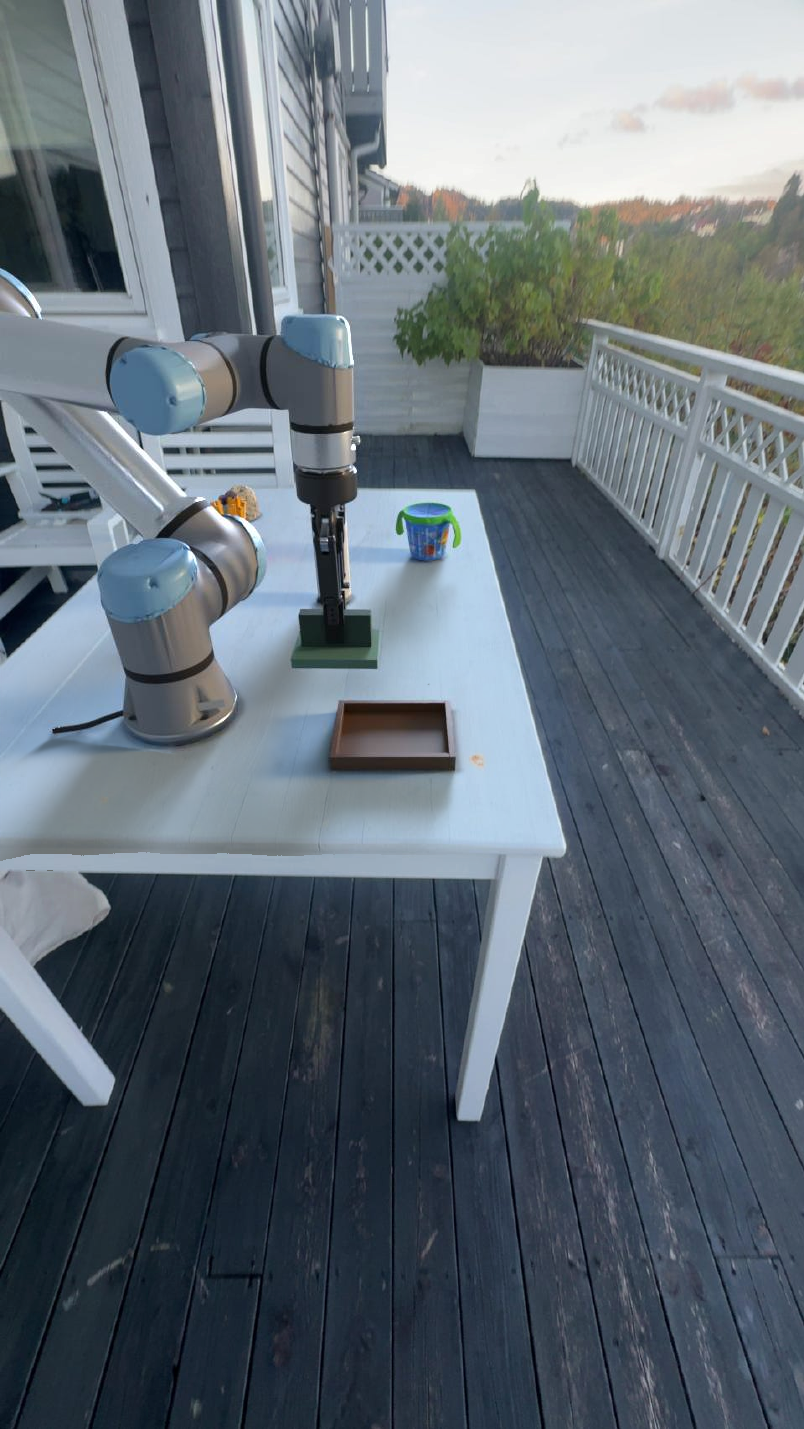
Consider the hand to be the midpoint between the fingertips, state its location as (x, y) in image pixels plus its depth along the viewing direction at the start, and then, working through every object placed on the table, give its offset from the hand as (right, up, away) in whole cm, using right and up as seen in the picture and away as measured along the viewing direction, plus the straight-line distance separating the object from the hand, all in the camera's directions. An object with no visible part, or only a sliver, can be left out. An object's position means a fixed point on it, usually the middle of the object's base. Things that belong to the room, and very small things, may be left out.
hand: (336, 637), depth 89 cm
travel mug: (-3, +11, +30) cm, 32 cm away
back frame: (+8, -14, -6) cm, 18 cm away
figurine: (-28, +29, +56) cm, 69 cm away
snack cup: (+15, +24, +48) cm, 55 cm away
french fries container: (-25, +19, +43) cm, 53 cm away
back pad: (0, -2, +1) cm, 2 cm away
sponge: (-32, +40, +71) cm, 88 cm away
